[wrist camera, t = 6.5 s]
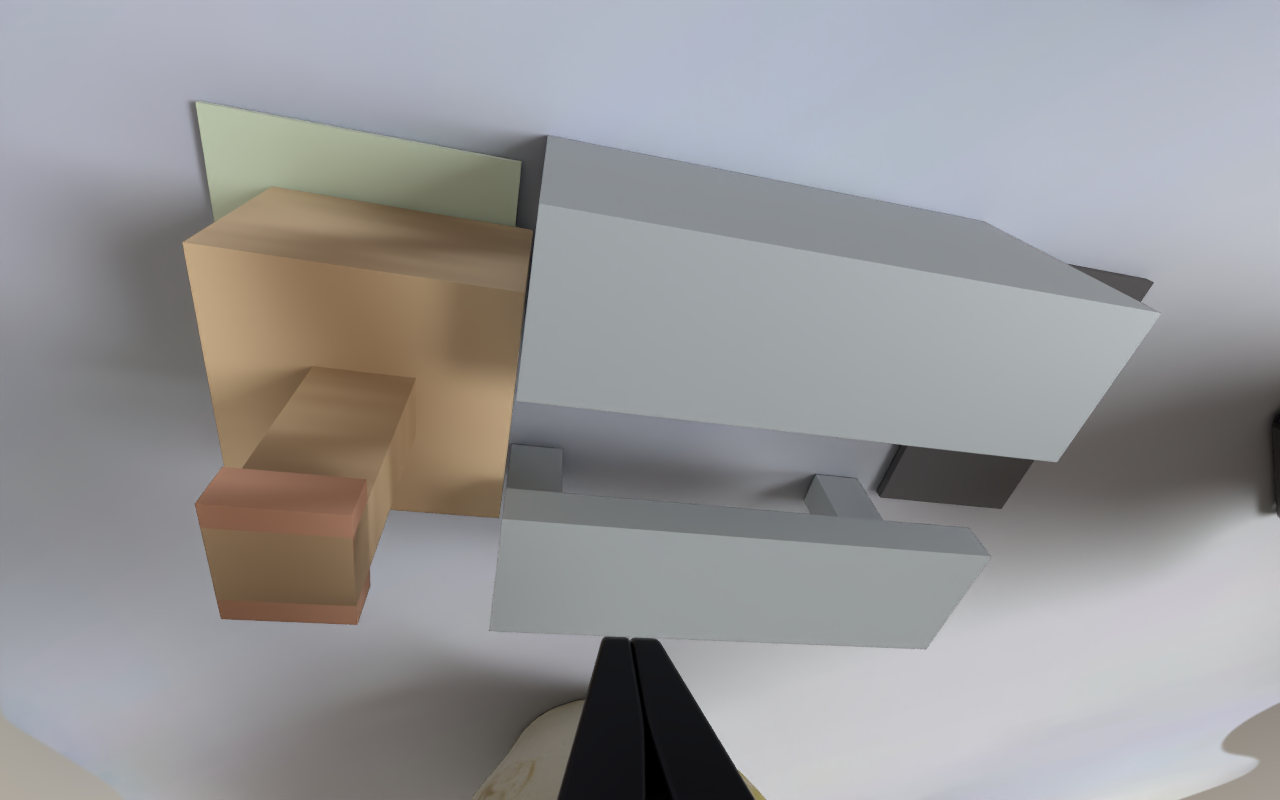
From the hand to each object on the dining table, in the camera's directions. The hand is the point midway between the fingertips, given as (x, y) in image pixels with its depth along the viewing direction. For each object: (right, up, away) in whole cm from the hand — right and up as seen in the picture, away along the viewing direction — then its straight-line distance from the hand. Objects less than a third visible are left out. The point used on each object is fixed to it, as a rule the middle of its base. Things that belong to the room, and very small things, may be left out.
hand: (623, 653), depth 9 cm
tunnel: (+3, +5, +9) cm, 11 cm away
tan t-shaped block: (-6, +6, +8) cm, 11 cm away
